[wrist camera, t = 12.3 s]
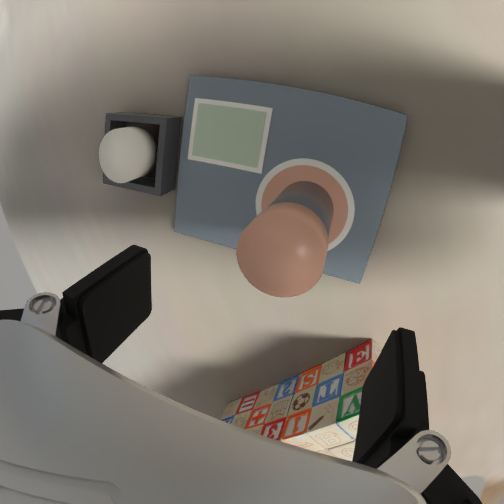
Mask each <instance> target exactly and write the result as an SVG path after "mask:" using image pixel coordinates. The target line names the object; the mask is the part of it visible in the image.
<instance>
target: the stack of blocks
mask: <svg viewBox="0 0 504 504" xmlns="http://www.w3.org/2000/svg"><path fill="white" fill-rule="evenodd" d="M381 351H382V349H381V348H380V347H379V346H378V345H377V344H376V342H375V341H374V340H373V339H371V340H369V341H367V342H365V343H363V344H362V345H360V346H358V347H356V348H354V349H352V350H351V351H348V352H347V353H346V352H345V353H343V354H341V355H339V356H337V357H335V358H333V359H331V360H329V361H327V362H325V363H323V364H321V365H318V366H316V367H314V368H312V369H309V370H307V371H305V372H303V373H301V374H300V375H297V376H295V377H293V378H291V379H289V380H286V381H284V382H281V383H280V384H277V385H275V386H273V387H270V388H268V389H265V390H263V391H259V392H257V393H254V394H252V395H249V396H246V397H244V398H241V399H238V400H235V401H233V402H230V403H228V404H227V405H226V407H225V409H224V411H223V413H222V415H221V417H220V419H219V420H221V421H224V422H226V423H229V424H232V425H234V426H237V427H240V428H242V429H245V430H248V431H251V432H254V433H257V434H259V435H262V436H265V437H268V438H272V439H275V440H278V441H281V442H284V443H288V444H291V445H294V446H298V447H301V448H304V449H308V450H311V451H315V452H318V453H322V454H326V455H329V456H333V457H337V458H341V459H345V460H348V461H352V460H353V454H354V448H355V441H356V435H357V428H358V420H359V413H360V404H361V396H362V388H363V384H364V382H365V380H366V378H367V376H368V375H369V373H370V371H371V369H372V368H373V366H374V364H375V362H376V360H377V358H378V357H379V355H380V353H381Z"/></svg>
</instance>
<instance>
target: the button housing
mask: <svg viewBox="0 0 504 504" xmlns="http://www.w3.org/2000/svg"><path fill="white" fill-rule="evenodd" d="M181 119H182V117H176V116H166V115H156V114H143V113H129V112H118V113H107V114H106V123H105V135H106V134H107V133H108V132H109V131H111V130H113V129H117V128H124V127H126V122H138V123H149V124H158V125H160V129H159V140H158V151H157V164H156V178H155V179H153V178H148V177H143V176H142V177H139V178H137V179H134V180H131V181H128V182H126V183H116V182H113V181H112V180H110V179H109V178H108V177H107V176H106V175H105V174H104V172H103V183H105V184H109V185H114V186H118V187H123V188H127V189H132V190H136V191H140V192H145V193H149V194H154V195H158V196H162V195H164V194H166V193H168V192H170V191H172V190H174V188H175V176H176V165H177V155H178V145H179V136H180V127H181Z"/></svg>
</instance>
